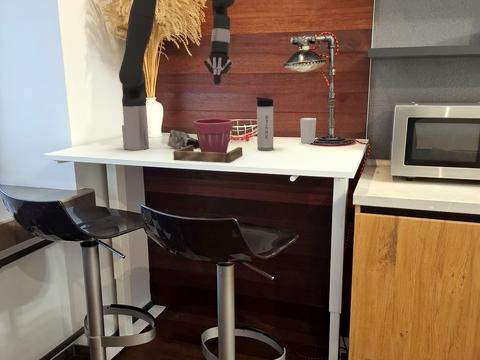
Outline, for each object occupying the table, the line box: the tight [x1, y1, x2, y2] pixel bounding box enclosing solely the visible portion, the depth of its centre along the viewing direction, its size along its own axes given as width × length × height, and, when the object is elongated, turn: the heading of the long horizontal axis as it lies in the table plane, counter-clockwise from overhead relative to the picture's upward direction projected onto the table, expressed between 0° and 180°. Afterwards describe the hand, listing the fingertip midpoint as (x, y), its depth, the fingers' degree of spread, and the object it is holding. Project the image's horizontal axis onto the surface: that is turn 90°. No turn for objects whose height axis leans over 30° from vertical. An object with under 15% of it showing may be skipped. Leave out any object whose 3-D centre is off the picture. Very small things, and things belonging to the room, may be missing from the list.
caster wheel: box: [167, 129, 200, 150], centre depth 183 cm, size 7×11×10 cm
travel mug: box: [255, 96, 274, 152], centre depth 174 cm, size 6×7×20 cm
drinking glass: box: [299, 117, 317, 145], centre depth 189 cm, size 7×7×10 cm
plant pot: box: [193, 118, 234, 153], centre depth 165 cm, size 14×14×13 cm
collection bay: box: [172, 145, 243, 164], centre depth 162 cm, size 21×14×3 cm, turn 71°
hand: (217, 84), depth 188 cm, fingers closed
